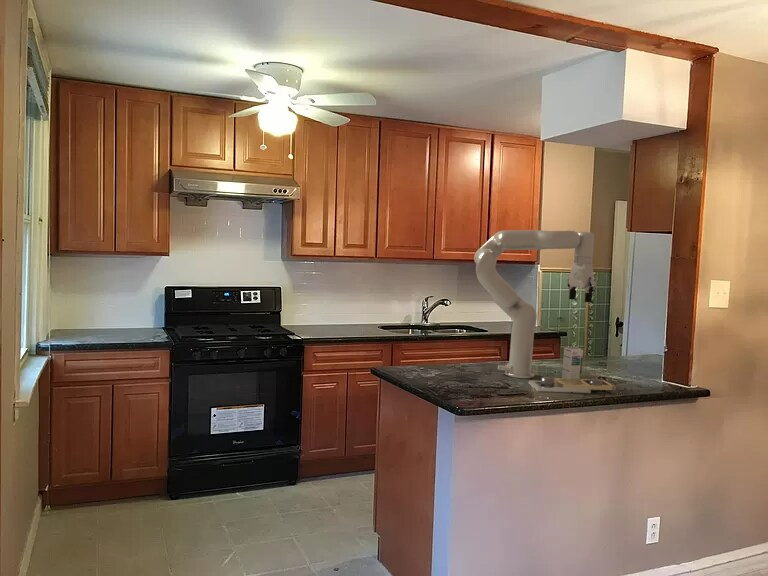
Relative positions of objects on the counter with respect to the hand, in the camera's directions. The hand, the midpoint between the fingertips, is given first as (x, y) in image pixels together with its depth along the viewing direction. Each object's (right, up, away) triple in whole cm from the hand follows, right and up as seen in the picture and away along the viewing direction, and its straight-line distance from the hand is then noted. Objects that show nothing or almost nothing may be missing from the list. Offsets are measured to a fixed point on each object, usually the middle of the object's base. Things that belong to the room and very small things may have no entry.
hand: (580, 300), depth 265 cm
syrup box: (-5, -34, -4) cm, 35 cm away
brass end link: (-4, -35, -17) cm, 39 cm away
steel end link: (-14, -35, -17) cm, 41 cm away
